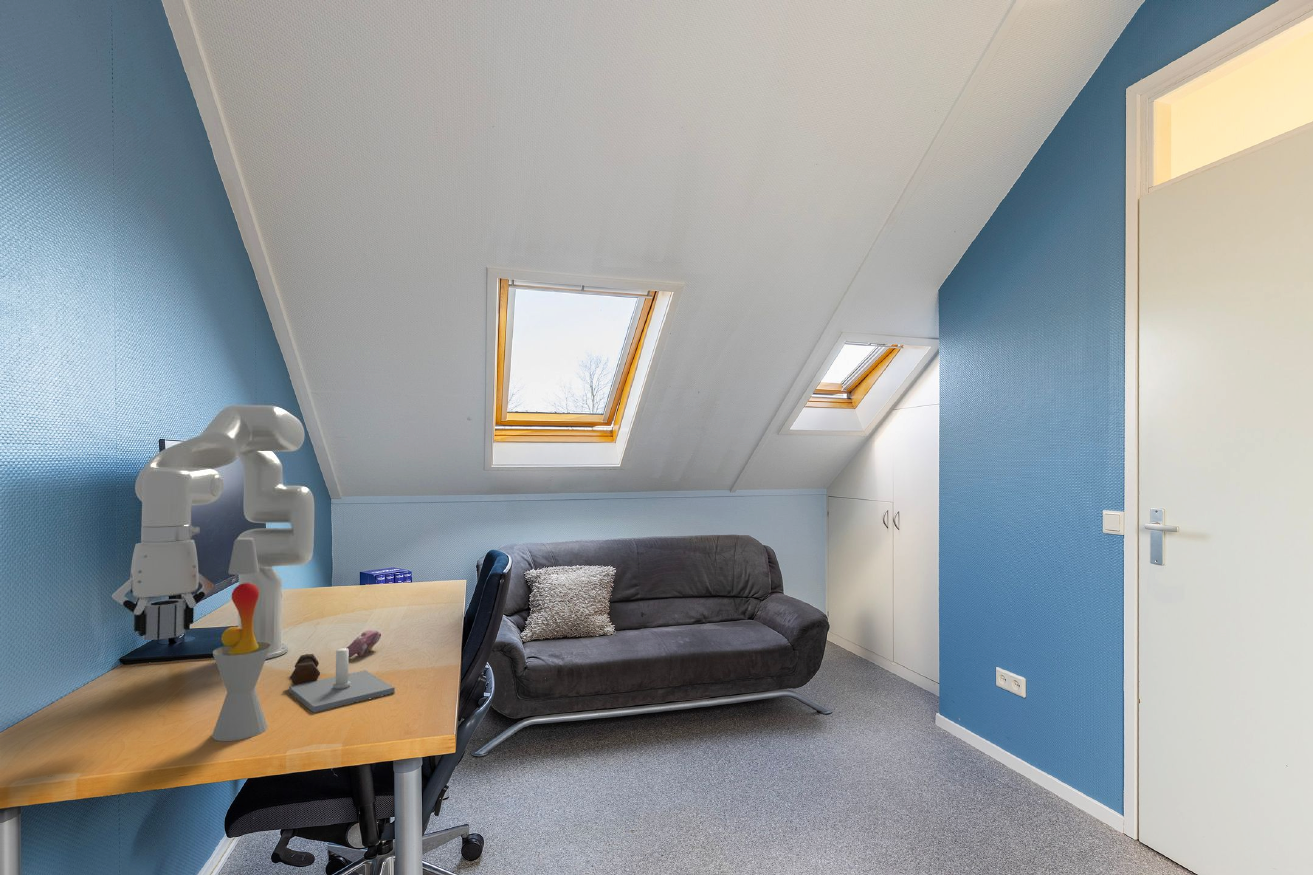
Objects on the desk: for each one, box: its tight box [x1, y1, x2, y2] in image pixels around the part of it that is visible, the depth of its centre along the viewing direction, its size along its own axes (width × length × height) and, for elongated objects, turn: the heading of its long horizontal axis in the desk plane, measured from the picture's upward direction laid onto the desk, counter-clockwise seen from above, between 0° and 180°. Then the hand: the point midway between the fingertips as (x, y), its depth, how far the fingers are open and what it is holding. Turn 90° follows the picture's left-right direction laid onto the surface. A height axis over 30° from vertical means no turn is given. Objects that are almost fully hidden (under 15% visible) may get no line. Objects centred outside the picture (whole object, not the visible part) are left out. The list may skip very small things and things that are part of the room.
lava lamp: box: [211, 537, 270, 742], centre depth 124 cm, size 9×9×35 cm
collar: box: [141, 598, 186, 641], centre depth 126 cm, size 6×6×6 cm
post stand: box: [288, 647, 396, 714], centre depth 144 cm, size 16×16×9 cm
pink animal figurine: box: [346, 629, 382, 659], centre depth 172 cm, size 10×5×7 cm, turn 172°
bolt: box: [289, 653, 321, 686], centre depth 154 cm, size 6×5×15 cm
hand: (164, 630), depth 126 cm, fingers closed on collar, 6 cm apart
